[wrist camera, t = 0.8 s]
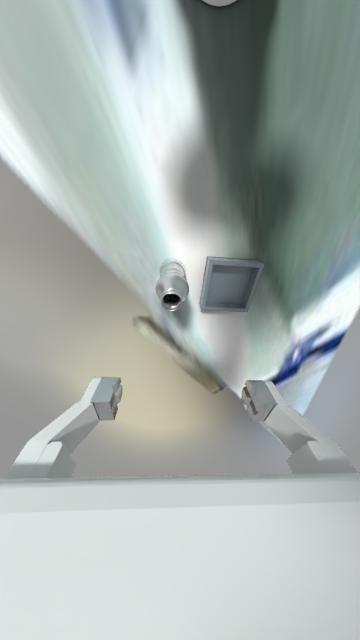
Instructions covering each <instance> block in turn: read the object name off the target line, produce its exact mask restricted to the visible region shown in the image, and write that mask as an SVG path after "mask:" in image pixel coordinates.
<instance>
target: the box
mask: <svg viewBox="0 0 360 640" xmlns="http://www.w3.org/2000/svg"><path fill="white" fill-rule="evenodd" d="M264 265H265V264H264V263H262V262H260V261H258V260H247V259H234V258H221V257H208V256H207V261H206V267H205V273H204V279H203V285H202V291H201V297H200V307H201V310H219V311H237V312H248V309H249V306H250V303H251V301H252V298H253V295H254V293H255V290H256V287H257V284H258V282H259V279H260V276H261V273H262V271H263V268H264Z"/></svg>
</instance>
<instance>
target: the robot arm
mask: <svg viewBox="0 0 360 640" xmlns="http://www.w3.org/2000/svg"><path fill="white" fill-rule="evenodd" d="M203 1H204V2H206V3H207V4H210V5H213V6H225V5H229V4H231V3H233V2H235V1H237V0H203ZM120 383H121V379H120V378H116V377H94V378H93V379H92V380H91V382H90V384H89V386H88V388H87V390H86V392H85V393H84V395H83V397H82V399H81V401H80V402H78V403H76V404H74V405H73V406H72V407H71V408H69V409H68V410H67V411H66V412H64V413H63V414H62V415H61V416H59V417H58V418H57V419H56V420H54V421H53V422H52V423H50V424H49V425H48V426H47V427H45V428H44V429H43V430H42V431H40V432H39V433H38V434H37V435H36V436H34V437H33V438H32V439H30V440H29V441H28V443H27V444H26V445H25V447H24V448H23V450H22V451H21V453H20V454H19V456H18V458H17V459H16V460H15V462H14V463H13V465H12V466H11V468H10V469H9V471H8V472H7V474H6V475H5V477H4V478H3V479H0V640H360V472H357V471H356V470H355V468H354V467H353V465H352V464H351V463H350V462H349V460H348V459H347V457H346V456H345V455H344V453H343V452H342V451H341V449H340V448H339V446H338V445H337V444H336V442H335V441H334V440H333V439H332V438H330V437H329V436H328V435H327V434H325V433H324V432H323V431H321V430H320V429H319V428H318V427H316V426H315V425H314V424H312V423H311V422H310V421H308V420H307V419H306V418H305V417H303V416H302V415H301V414H300V413H298V412H297V411H296V410H295V409H293V408H292V407H291V406H289V405H286V403H285V402H284V400H283V398H282V397H281V395H280V394H279V392H278V391H277V389H276V387H275V386H274V384H273V383H272V382H271V381H262V380H248V381H246V383H245V385H246V386H245V387H244V388H243V390H242V399H243V402H244V404H246V405H247V406H248V407H247V412H248V414H249V417H250V420H251V421H265V422H264V423H265V424H266V425H267V426H268V427H269V428H270V429H271V430H272V431H273V433H274V434H275V435H276V436H277V437H278V438H279V439H280V440H281V441H282V442H283V444H284V445H285V446H286V447H287V448H288V449H289V450H290V451H291V452H292V454H293V455H292V456H291V457H290V458H288V460H287V462H288V465H289V467H290V469H291V471H292V473H293V474H244V475H189V476H135V477H81V478H80V477H78V478H71V477H72V474H73V471H74V469H75V466H76V462H75V460H74V459H73V458H72V456H71V455H70V454H71V453H72V452H73V451H74V450H75V448H76V447H77V446H78V445H79V444H80V443H81V442H82V441H83V439H84V438H85V437H86V436H87V435H88V434H89V433H90V432H91V430H92V429H93V428H94V427H95V426H96V425H97V424H98V422H99V420H115V416H116V413H117V410H118V407H117V404H118V403H119V402H120V400H121V396H122V385H120Z"/></svg>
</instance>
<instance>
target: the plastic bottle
mask: <svg viewBox="0 0 360 640" xmlns="http://www.w3.org/2000/svg"><path fill="white" fill-rule="evenodd" d="M160 276H161V277H160V279H159V280H158V282H157V285H156V293H157V296H158V297H159V299H160V300H161V305H162V307H163V308H164V309H166V310H168V311H176V310H178V309H179V308H180V307H181V306H182V302H183V301H184V300H185V299H186V297H187V295H188V293H189V286H188V283H187V281H186V280H185V278H184V276H185V267H184V265H183V264H182V263H181V262H180V261H178V260H176V259H168V260H166V261H165V262H163V264H162V265H161V267H160Z"/></svg>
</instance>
